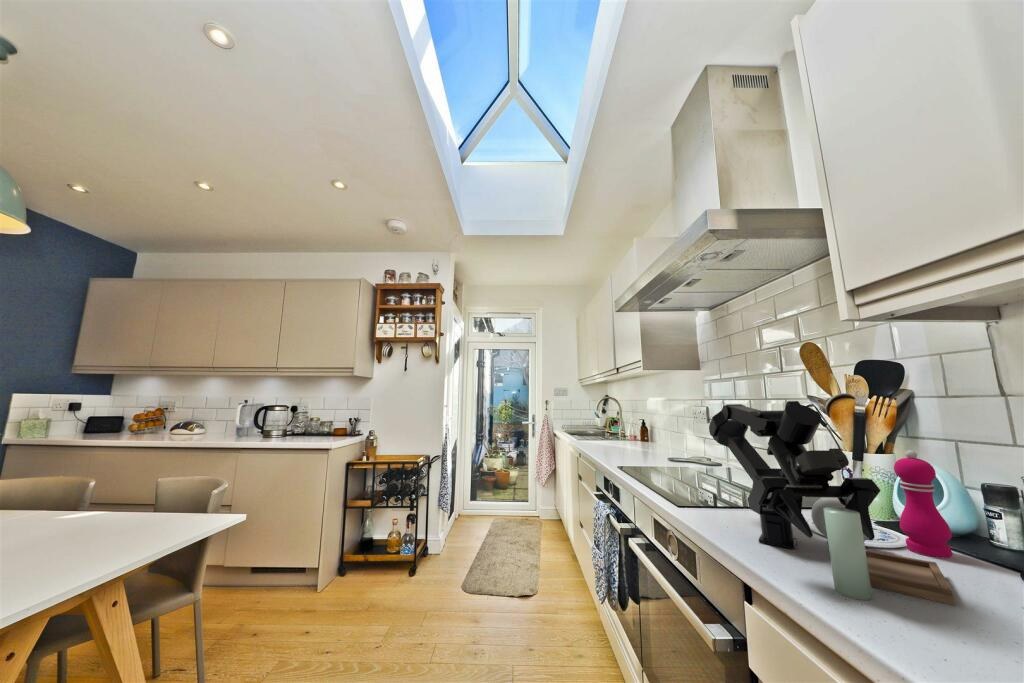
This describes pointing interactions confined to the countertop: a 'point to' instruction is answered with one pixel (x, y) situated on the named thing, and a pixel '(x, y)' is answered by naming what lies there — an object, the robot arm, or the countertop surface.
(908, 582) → the walnut tray
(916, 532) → the pepper mill
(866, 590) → the sage cylinder
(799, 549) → the countertop surface
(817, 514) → the donut
